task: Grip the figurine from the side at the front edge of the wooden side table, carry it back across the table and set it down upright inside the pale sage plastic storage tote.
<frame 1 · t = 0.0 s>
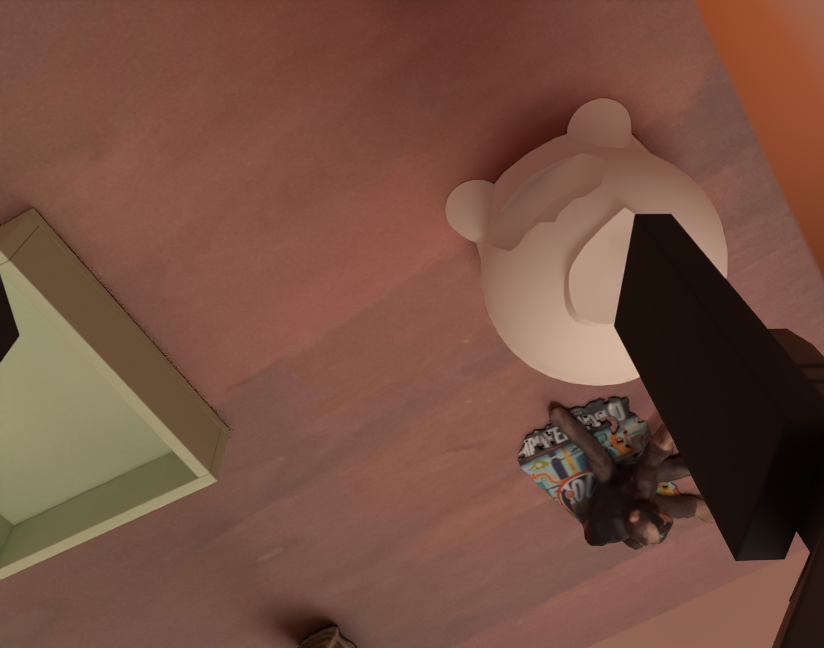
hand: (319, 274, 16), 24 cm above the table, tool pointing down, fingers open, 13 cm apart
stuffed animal: (623, 463, 52), on the table
tote: (24, 389, 46), on the table
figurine: (564, 205, 41), on the table
rock: (321, 643, 61), on the table
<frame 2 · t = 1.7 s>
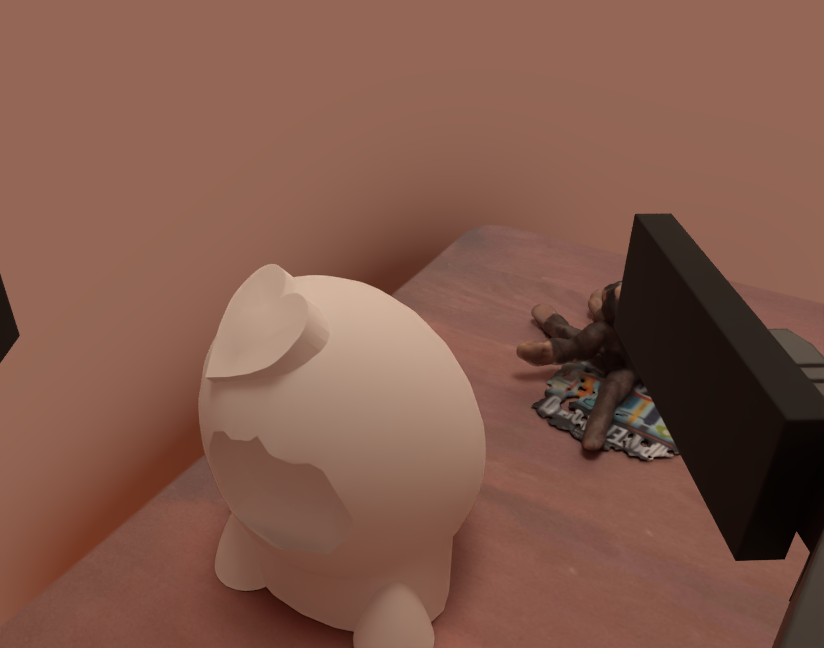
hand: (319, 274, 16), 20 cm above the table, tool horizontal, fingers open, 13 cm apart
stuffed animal: (607, 377, 46), on the table
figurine: (351, 552, 34), on the table
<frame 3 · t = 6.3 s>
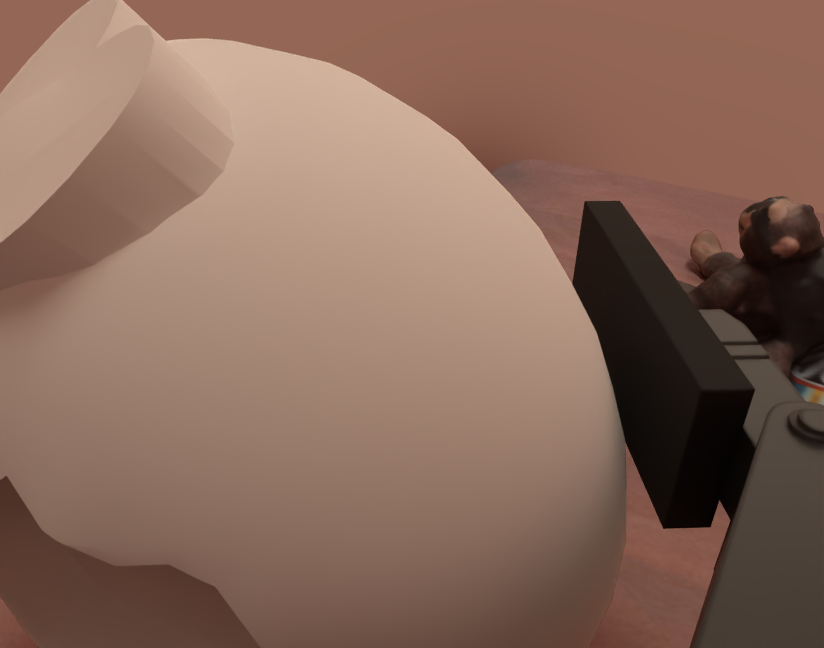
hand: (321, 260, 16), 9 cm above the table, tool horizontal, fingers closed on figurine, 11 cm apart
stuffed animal: (739, 355, 30), on the table
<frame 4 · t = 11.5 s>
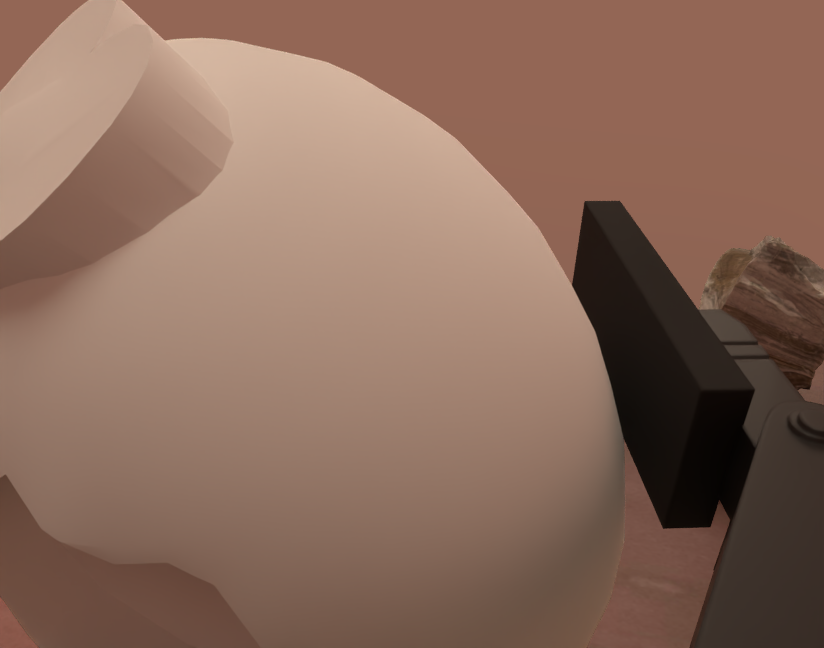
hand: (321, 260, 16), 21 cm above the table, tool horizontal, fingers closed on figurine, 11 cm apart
rock: (720, 450, 42), on the table
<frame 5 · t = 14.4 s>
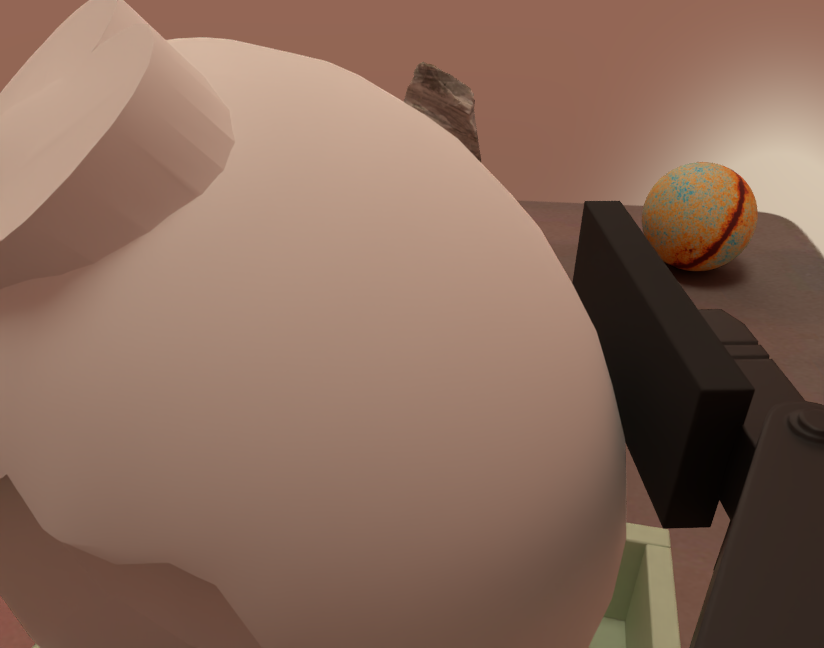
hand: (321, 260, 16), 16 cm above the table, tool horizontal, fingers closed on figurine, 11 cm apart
ball: (686, 267, 51), on the table
rock: (450, 291, 47), on the table
when the fingers open (10 cm above the table, at t = 16.8 s): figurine stays where it is, resting on tote.
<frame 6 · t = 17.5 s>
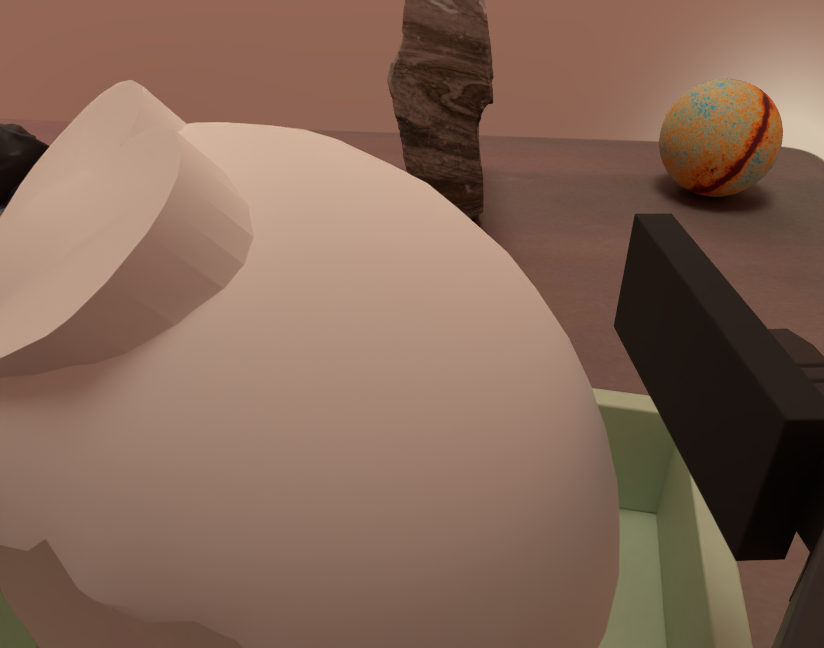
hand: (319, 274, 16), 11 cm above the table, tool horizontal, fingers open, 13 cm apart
ball: (705, 195, 48), on the table
rock: (457, 216, 45), on the table
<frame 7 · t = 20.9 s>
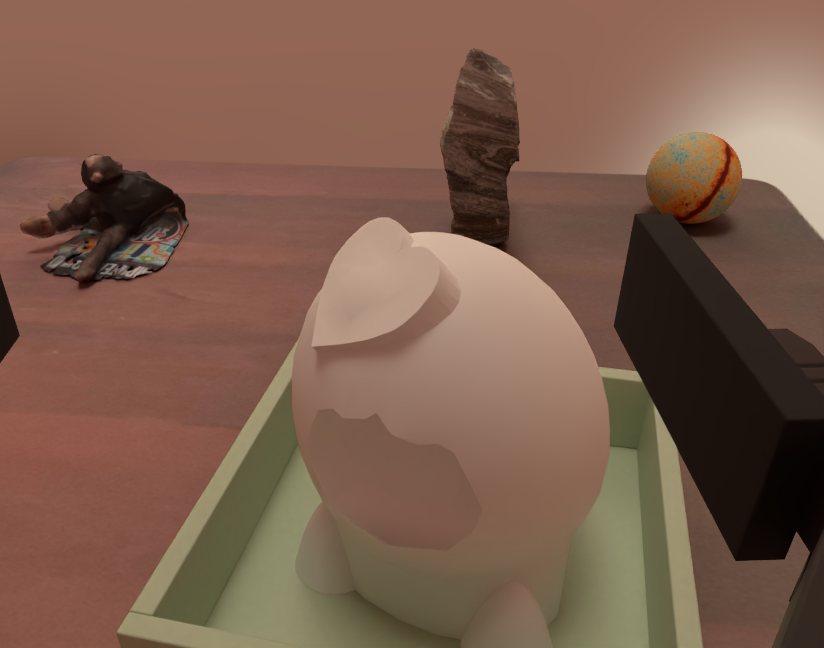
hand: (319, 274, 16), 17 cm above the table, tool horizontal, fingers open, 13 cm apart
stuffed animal: (112, 238, 57), on the table
ball: (683, 222, 61), on the table
tote: (443, 560, 31), on the table
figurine: (444, 551, 31), point 1 cm above the table, touching tote
rock: (487, 241, 57), on the table
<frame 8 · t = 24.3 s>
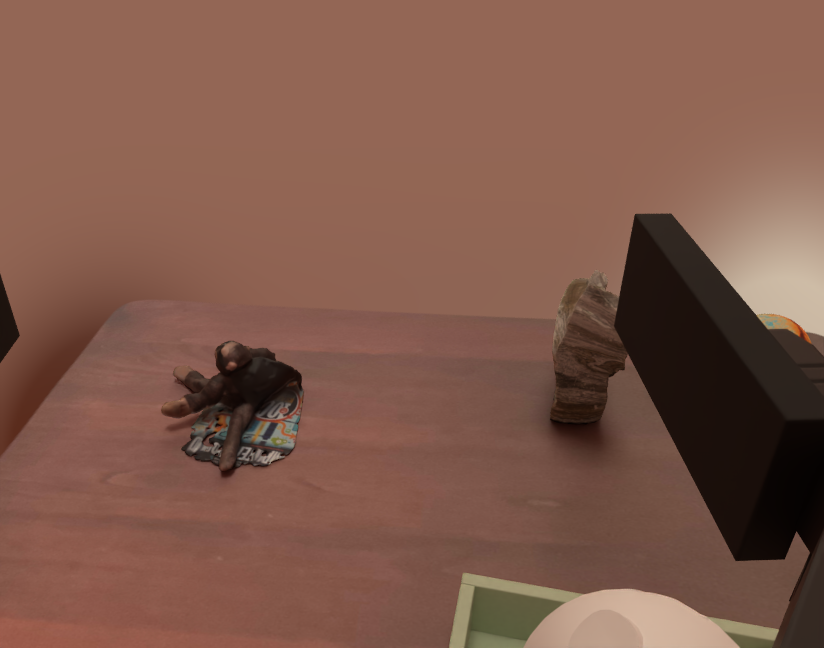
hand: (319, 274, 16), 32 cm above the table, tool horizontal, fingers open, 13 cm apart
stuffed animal: (237, 410, 62), on the table
ball: (755, 389, 66), on the table
rock: (580, 414, 63), on the table
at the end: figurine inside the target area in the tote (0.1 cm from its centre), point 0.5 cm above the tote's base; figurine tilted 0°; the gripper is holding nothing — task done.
